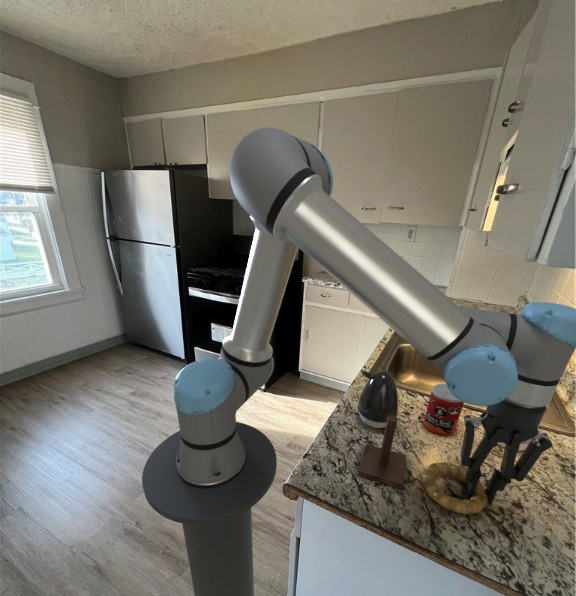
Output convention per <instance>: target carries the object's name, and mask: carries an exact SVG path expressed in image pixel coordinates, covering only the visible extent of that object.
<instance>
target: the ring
mask: <svg viewBox="0 0 576 596" xmlns="http://www.w3.org/2000/svg"><path fill="white" fill-rule="evenodd" d="M466 470H467V469H465V468H464V467H462V466H461V465H457V464H453V463H450V462H445V461H443V462H442V461H441V462H433V463H431V464H429V465H428V466H427V467H425V468H424V469H423V471H422V477H421V480H422V481H421V484H422V486H423V488H424V490H425V491H426V492H427V494H428V496H429V497H430V498H431V499H432V500H433V501H435V502H436V503H437V504H439V505H440V506H441V507H443V508H444V509H446V510H449V511H452V512H455V513H458V514H459V515H460V514H461V515H471V514H479V513H480V512H482V510H484V508H485V507H486V506H487V505H488V504H487V503H488V498H487V493H486V487H485V486H484V485H483V482H481V481H480V480H479V482H478V484H477V486H476V489H475V491H474V494H473V496H472V498H471V499H470V498H467V499H460V498H456V497H454V496H451V495H449V494H448V493H446V492H445V491H443V490H442V489H441V488H440V487H439V486H438V484H437V482H436V477H438V476H441V475H448V476H450V477H454V478H456V479H459V480H460V481H461V482H463V483H464V484H466V485H467V483H468V482H467V481H466V477H465V473H466Z"/></svg>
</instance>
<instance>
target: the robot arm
mask: <svg viewBox="0 0 576 596" xmlns="http://www.w3.org/2000/svg"><path fill="white" fill-rule="evenodd" d="M229 180H230V185H231V189H232V192H233V194H234V196H235V198H236V200H237V201H238V203H239V205H240V206H241V207H242V208H243V210H244V211H245V212H246V213H247V214H248V215H249V218H250V220H251V221H252V223H253V225H254V227H255V230H254V233H253V240H252V243H251V247H250V251H249V257H248V261H247V265H246V269H245V273H244V277H243V283H242V287H241V292H240V296H239V300H238V305H237V309H236V314H235V318H234V323H233V328H232V332H231V333H229V334H228V335H226V336H225V337H224V338H223V340H222V345H221V349H220V354H219V357H218V358H203V359H201V360H200V361H199V360H195V361H193V362H191V363H189V364H187V365H186V366H184V367H182V368H181V370H180V371H179V372H178V373H177V374H176V376H175V379H174V381H173V382H174V383H173V391H174V392H173V399H174V400H173V401H174V404H175V408H176V414H177V420H178V427H179V431H180V433H181V442H180V446H179V450H178V454H177V458H176V467H177V473H178V475H179V477H180V478H181V480H182V481H184V482H185V483H186V484H188V485H190V486H193V487H197V488H213V487H218V486H221V485H224V484H226V483H228V482H230V481H231V480H233V479H234V478H236V477H237V476H238V475H239V474H240V472H241V471H242V470H243V468H244V466H245V462H246V451H245V447H244V444H243V442H242V441H241V440H240V437H239V435H238V432H237V430H236V422H237V412H238V410H239V409H240V408H241V407H243V405H244V404H245V403H246V402H247V401H248V400H249V399H251V397H252V396H253V395H254V394H255V393H256V392H257V391H259V389H261V388H262V387H263V386H265V384H266V383H267V382H268V381H269V379H270V377H271V376H272V374H273V371H274V368H275V361H274V357H273V352H274V350H273V347H272V345H271V344H270V342H271V337H272V334H273V331H274V328H275V326H276V325H275V324H276V321H277V319H278V315H279V311H280V309H281V305H282V301H283V298H284V295H285V292H286V288H287V285H288V282H289V279H290V275H291V273H292V268H293V266H294V263H295V260H296V255H297V253H298V249H299V250H300V251H302V252H303V253H304V254H305V255H306V256H307V257H308V258H309V259H311V260H312V261H313V262H314V263H315V264H317V265H318V267H320V268H321V269H322V270H324V271H325V272H326V273H327V274H329V276H331V277H332V278H333V279H334V280H335V281H336V282H337V283H338V284H340V285H341V286H342V287H343V288H344V289H346V290H347V291H348V292H349V293H350V294H351V295H352V296H353V297H355V298H356V299H357V300H358V301H359V302H360V303H361V304H363V305H364V306H365V307H366V308H367V309H368V310H370V311H371V312H372V313H373V314H375V316H377V317H378V318H379V319H380V320H381V321H382V322H384V324H386V325H387V326H388V327H389V328H391V329H392V331H394V332H395V333H396V334H397V335H399V336H400V337H401V338H402V339H403V340H404V341H405V342H407V343H408V344H409V345H410V346H411V347H412V348H414V349H415V350H416V351H417V352H418V353H420V355H422V356H423V357H424V358H425V359H426V360H428V361H429V362H430V363H431V364H432V365H433V366H434V367H435V368H436V369H437V370H438V371H440V372H441V373H442V374H443V380H444V383H445V384H447V387H448V389H449V391H450V392H451V393H452V394H453V395H454V396H455V397H456V398H457V399H458V400H460V401H462V402H464V404H467V405H470V406H476V407H486V409H485V410H484V411H483V413H481V414H480V416H475V417H472V416H471V415H469V414H468V415H464V416H463V421H464V427H465V429H464V434H463V439H462V443H461V448H460V449H461V450H460V454H459V455H460V463H461V466H463V467H467V468H466V469H465V470H466V473H465V477H466V481H467V482H468V483H467V484H466V485H465V491H466V492H465V493H466V498H467V499H471V498H472V497H473V494H474V491H475V489H476V486H477V484H478V482H479V481H480V479H481V477H482V471H481V470H482V469H481V466H482V465H483V464H484V462H485V460H486V459H487V457H488V456H489V455H490V453H491V451H492V450H493V448H496V446H497V445H498V444H497V443H498V442H501V443H505V444H506V445H505V447H504V449H503V454H502V459H501V463H500V469H496V468H494V470H493V472H492V475H491V477H490V479H489V482H488V484H487V486H486V487H485V489H486V493H487V498H488V503H487V504H486V505H490V506H491V505H492V504H493V502H494V500H495V498H496V495H497V494H498V493H497V492H498V491H499V492H503V491H504V490H505V489H506V487H507V485H510V484H511V483H512V480H515V481H517V482H523V481H524V480H525V479H526V477H527V476H528V474H529V473H530V471H531V470H532V468H533V467H534V465H536V463H537V461H538V460H539V459H540V457H541V455H542V454H543V453H544V452H545V451H547V450H549V449H550V448H553V441H552V440H551V438H550V436H549V434H548V433H546V432H541V431H539V427H538V425H539V424H541V423H542V420H543V418H544V416H545V414H546V412H547V410H546V408H547V407H546V406H547V405H548V404H549V405H550V404H551V401H552V399H553V396H554V394H555V392H556V391H557V387H558V385H559V383H560V380H561V378H562V376H563V374H564V372H565V371H566V368H567V366H568V364H569V362H570V361H571V358H572V356H573V354H574V352H575V350H576V307H572V306H569V305H565V304H560V303H556V302H547V301H543V302H541V301H532V302H528V303H527V304H526V305H525V306H524V308H523V310H521V311H520V313H507V312H501V311H493V310H486V309H480V308H473V307H466V306H463V305H458V304H457V303H456V302H455V301H453V299H451V298H450V297H449V296H448V295H447V294H445V293H444V292H443V291H442V290H441V289H439V287H437V286H436V285H434V284H433V283H432V282H431V281H430V280H429V279H428V278H426V276H424V275H423V274H422V273H421V272H420V271H418V270H417V269H416V268H415V267H414V266H412V265H411V264H410V263H409V262H408V261H407V260H405V259H404V258H403V257H402V256H401V255H400V254H399V253H397V252H396V251H395V250H394V249H392V248H391V247H390V246H389V245H388V244H387V243H385V241H383V240H382V239H381V238H380V237H379V236H377V235H376V234H375V233H374V232H373V231H371V230H370V229H369V228H368V227H367V226H365V225H364V224H363V223H362V222H361V221H360V220H359V219H357V218H356V217H355V216H354V215H353V214H352V213H350V212H349V211H348V210H347V209H345V208H344V207H343V206H342V204H339V202H337V201H336V200H335V199H334V198H333V197H331V196H332V192H333V187H334V175H333V170H332V167H331V163H330V162H329V160H328V158H327V157H326V156H325V154H324V153H323V152H322V151H321V150H320V149H319V148H318V147H317V146H316V145H315V144H312V143H311V142H309V141H307V140H303V139H301V138H299V137H296V136H294V135H293V134H291V133H289V132H287V131H285V130H283V129H279V128H277V127H261V128H258V129H255V130H252V131H251V132H249V133H248V134H246V135H245V136H243V137H242V139H241V140H240V141H239V142H238V144H237V145H236V147H235V148H234V151H233V154H232V156H231V160H230V164H229ZM547 409H548V408H547ZM545 411H546V412H545ZM544 413H545V414H544ZM543 415H544V416H543ZM542 417H543V418H542ZM541 419H542V420H541ZM540 422H541V423H540ZM481 425H482V427H483V429H484V431H485V432H484V434H483V437H482V439H481V440H480V442H479V444H478V445H477V446H476V448H475V450H474V451H473V453H472V450H473V446H474V440H475V437H476V436H475V432H477V431H478V430H479V428H480V426H481ZM539 426H540V425H539ZM531 438H532V440H531V441H530V443H529V444H528V446H527V447H526V449H525V450H523V451H522V454H521V455H520V456H519V458H518V459H516V458H517V454H518V453H519V447H520V443H522V442H524V441H527V440H529V439H531ZM516 460H517V461H516ZM515 462H516V463H515Z"/></svg>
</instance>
